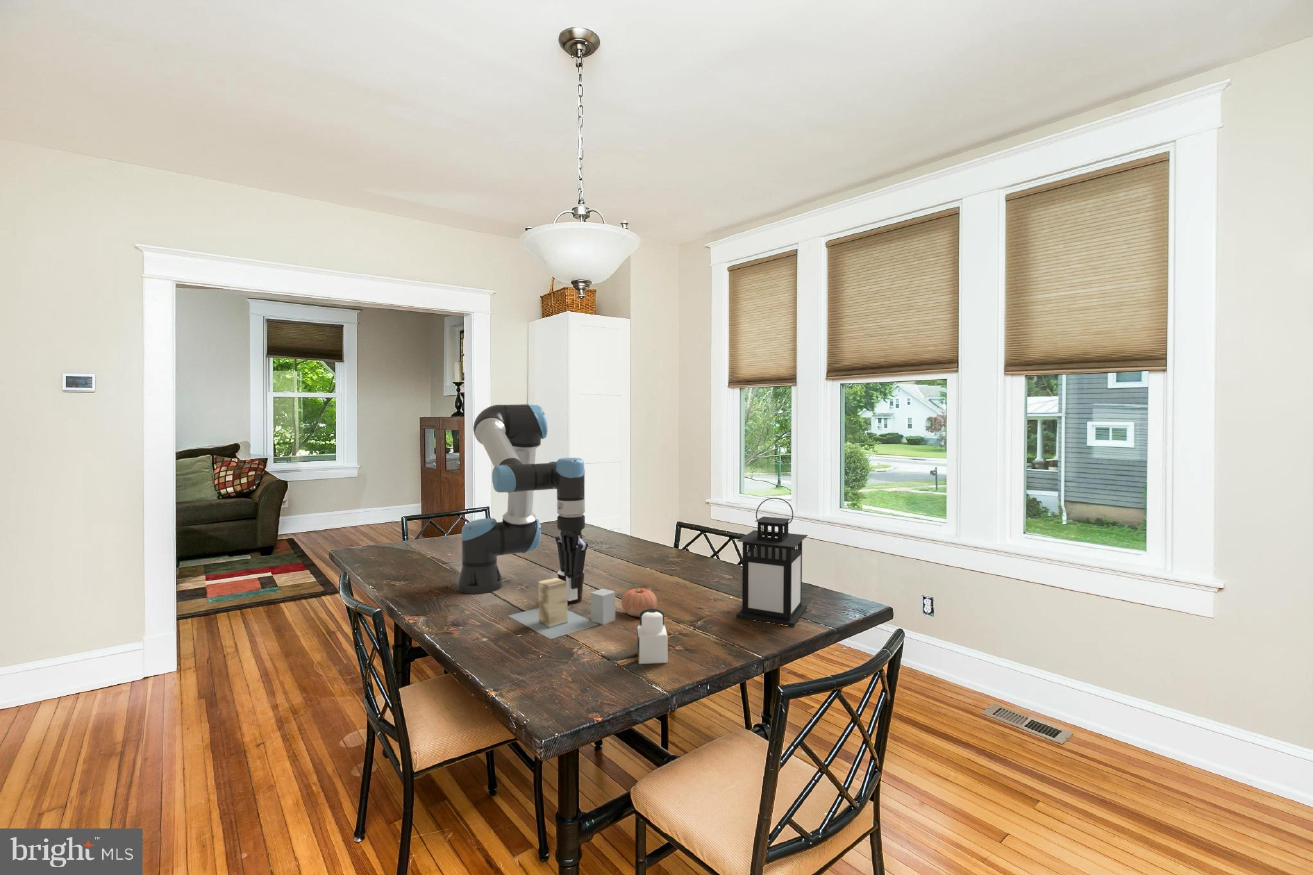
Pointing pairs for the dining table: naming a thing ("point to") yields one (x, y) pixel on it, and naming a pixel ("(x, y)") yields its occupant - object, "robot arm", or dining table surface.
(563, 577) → the coffee mug
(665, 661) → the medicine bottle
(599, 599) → the grey painted block
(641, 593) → the orange ribbed round piece
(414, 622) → the dining table surface
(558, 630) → the slate mat
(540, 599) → the birch block
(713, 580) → the dining table surface
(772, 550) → the lantern
